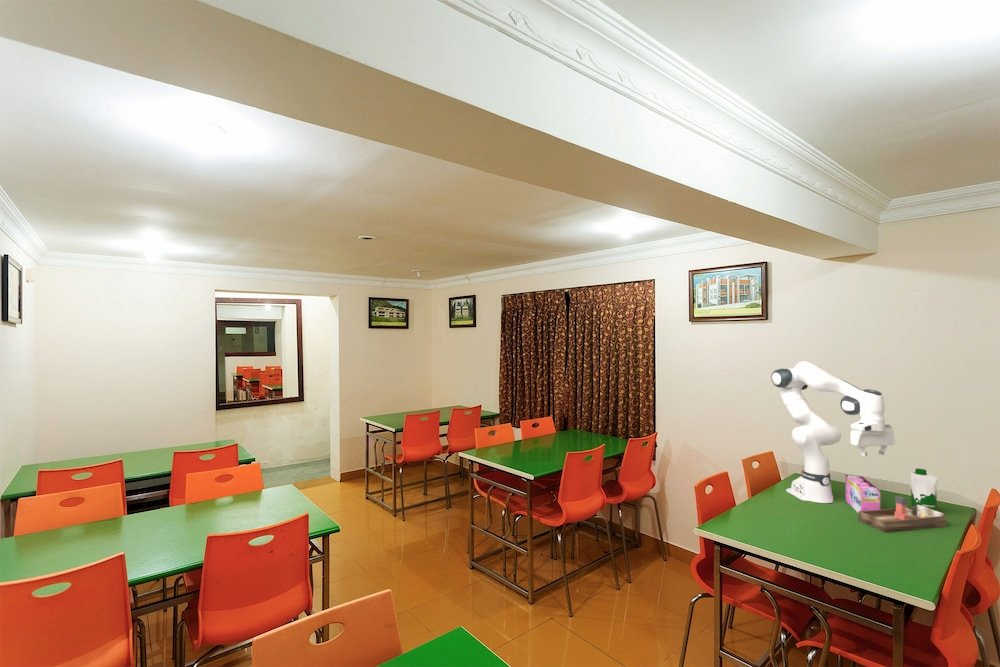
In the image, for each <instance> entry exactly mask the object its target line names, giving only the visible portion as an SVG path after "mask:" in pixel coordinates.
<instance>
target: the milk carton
mask: <svg viewBox="0 0 1000 667" xmlns="http://www.w3.org/2000/svg"><path fill="white" fill-rule="evenodd" d="M909 475H910V476H909V477H910V488H911V489H910V490H911V491H910V493H911V494H910V497H911V499H910V501H911V503H910V505H911V506H910V507H914V506H917V505H920V506H923V507H926V508H929V509H932V510H935V511H938V506H937V505H938V503H937V502H938V501H937V500H938V498H937V496H938V495H937V494H938V493H937V491H938V490H937V486H938V485H937V484H938V481H939V480H938V479H939V478H938V477H936V476H934V475H933V474H931V473H928V472H927V470H926V469H924V468H915V472H909Z"/></svg>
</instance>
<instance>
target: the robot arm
mask: <svg viewBox="0 0 1000 667" xmlns="http://www.w3.org/2000/svg"><path fill="white" fill-rule="evenodd" d="M770 379H771V382H772V384H773V385H774V387H777V388H780V390H779V397H780V401H781V402H782V404H783V406H784V408H785V409H786V411H787V412H788V415H789V416H790V417H791V419H792V421H793V422H795V423H797V424H799V425H800V426H797V427H796V426H795V427H794V428H793V429H792V430H791V433H790V434H791V435H790V436H791V440H792V441H793V443H794V444H795V445H796V446H798V447H799V449H800V450H801V453H802V457H803V469H801V470H799V472H800V473H801V476H799V477H797V478H796V479H793V480H792V482H791V487H788V488H786V490H785V492H787V493H789V494H790V495H792V496H793V497H796V498H797V499H799V500H801V501H805V502H806V501H807V502H812V503H819V504H830V503H833V502H834V495H833V492H832V485H831V482H830V481H831V473H830V459H829V457H828V456H827V455H825V454H824V453H823V452H822V449H821V447H822V446H831V445H834V444H837V443H839V442H840V441H841V438H842V433H841V431H840V429H839V428H838V427H837V426H835V425H833V424H831V423H829V422H828V421H826V420H824V418H822V417H821V416H820V415H819V414H817V412H816V411H815V410H814V409H813V408H812V407H811V405H810V404H809V402H808V400H807V399H806V398H805V396H804V395H803V393H802V391H803V390H806V389H807V388H810V389H813V390H815V391H818V392H826V393H827V392H828V393H837V394H841V395H843V397H842V398H841V399H840V402H839V403H840V404H839V405H840V408H841V410H842V412H844V414H846V415H850V416H860V420H858V421H856V422H853V423H851V424H850V429H851V431H850V440H849V441H850V444H851V446H853V447H858V450H859V451H860V456H862V457H868V452H866V450H865V449H866V447H879V446H880V450H878V455H881V456H885V454H886V450H887V448H888V446H893V445H894V444H895V443H896V442H895V440H896V438H895V433H894V431H893V427H892V425H890V424H886V422H885V420H886V419H885V416H884V414H885V411H886V410H885V399H884V396H883V393H882V392H880V391H878V390H876V389H875V390H874V389H870V388H869V389H868V388H866V389H861V388H859V387H857V386H855V385H854V384H852V383H850V382H848V381H846V380H844V379H842V378H839V377H838V376H835V375H833V374H831V373H829V372H828V371H827V370H825V369H823V368H822V367H820V366H818V365H816V364H814V363H812V362H810V361H807V360H802V361H799V362H798V363H796V365H795V366H794V367H786V368H779V369H775V370H774V371H773V372H772V373H771V378H770Z"/></svg>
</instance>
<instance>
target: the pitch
mask: <svg viewBox="0 0 1000 667" xmlns="http://www.w3.org/2000/svg"><path fill="white" fill-rule="evenodd" d="M895 511H896V507H894V508H893V507H891V508H881V509H880V510H869V511H858V512H857V514H858V518H857V519H858V522H860V523H862V524H864V525H866V524H867V525H866V526H869V527H871V528H874V529H876V530H878V531H881V532H883V533H895V532H905V531H913V530H914V531H916V530H917V531H918V530H925V529H937V528H946V527H947V516H945V514H944V513H943V512H940V511H938V510H937V511H935V510H932V509H929V508H926V507H923V506H920V505H917V506H914V507H911V506H906V514H907V515H908V519H905V520H901V519H898V518H895ZM922 513H925V514H927V515H924V518H921V517H920V514H922ZM928 515H929V516H928Z"/></svg>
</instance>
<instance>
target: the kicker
mask: <svg viewBox="0 0 1000 667" xmlns="http://www.w3.org/2000/svg"><path fill="white" fill-rule="evenodd" d="M894 498H895V501H894V503H895V508H896V511H895V518H898V519H901V520H905V519H908V515H907V514H906V507H907V505H908V503H907V502H908V501H907V500H908V499H907V498H906V497H903V496H899V495H898V496H895V497H894Z"/></svg>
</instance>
